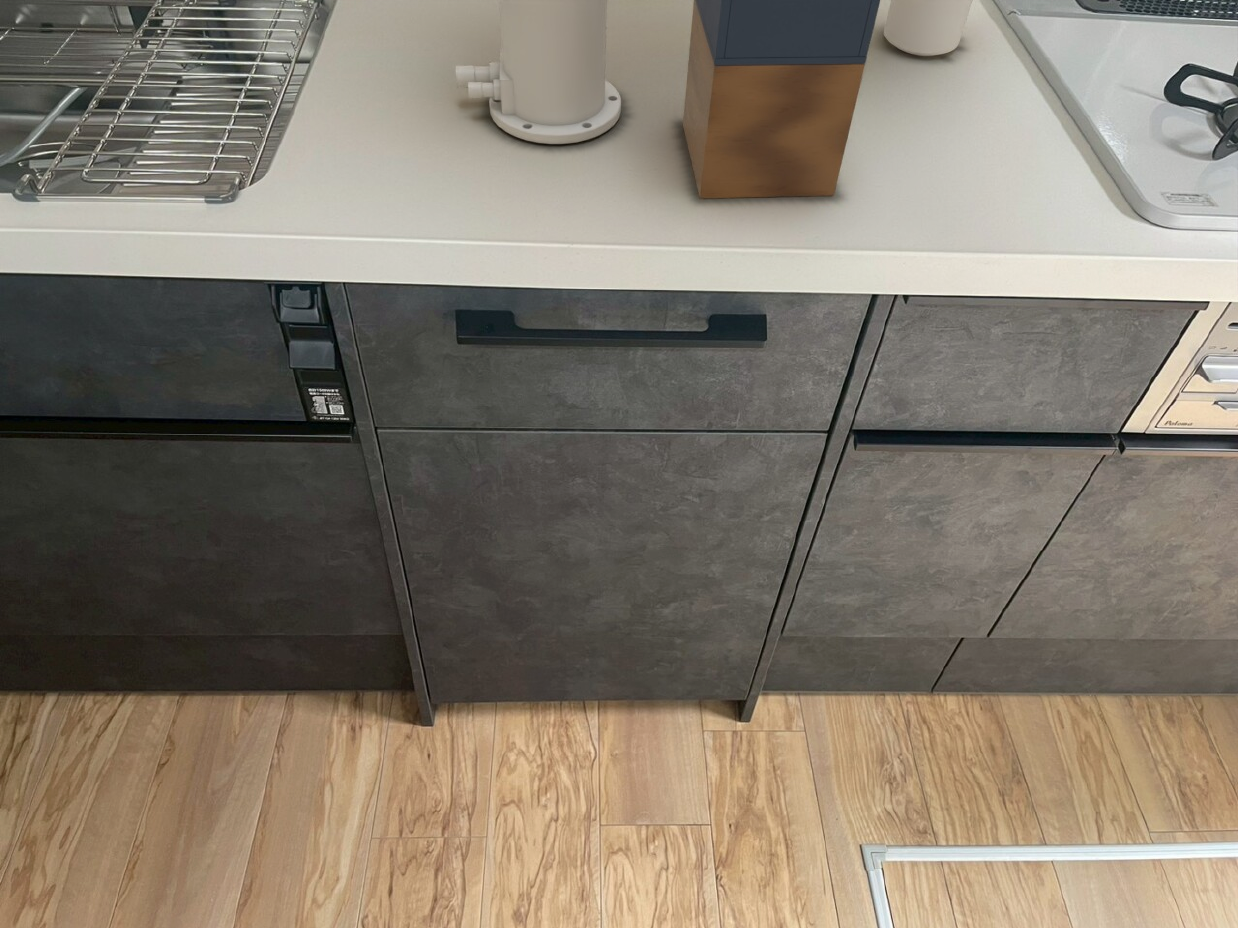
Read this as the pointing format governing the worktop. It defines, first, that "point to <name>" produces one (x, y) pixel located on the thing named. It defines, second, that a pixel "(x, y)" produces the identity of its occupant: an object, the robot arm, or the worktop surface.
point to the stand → (766, 124)
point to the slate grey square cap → (788, 31)
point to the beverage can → (926, 25)
